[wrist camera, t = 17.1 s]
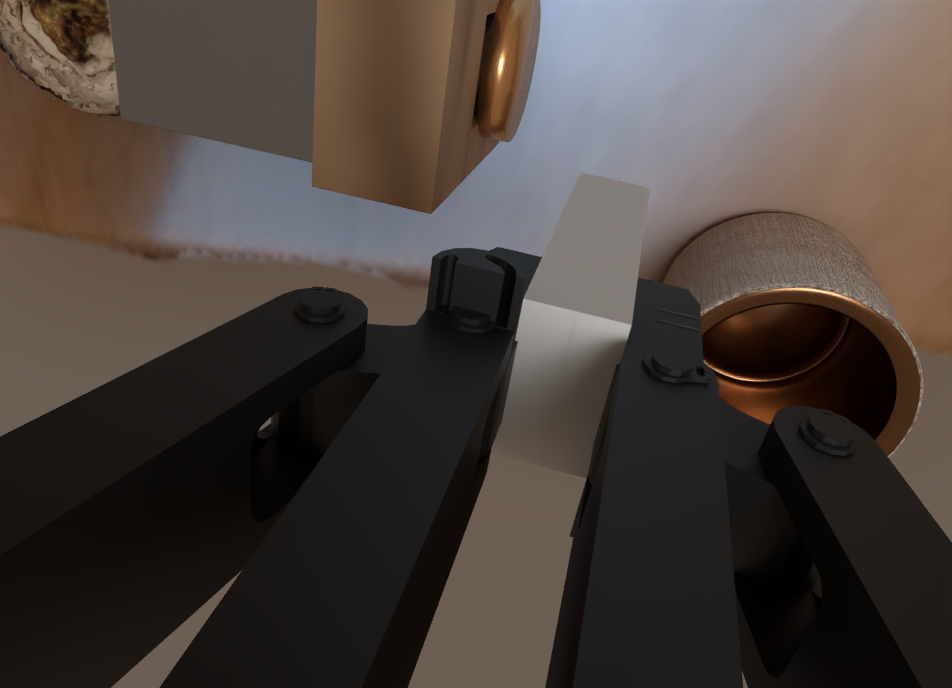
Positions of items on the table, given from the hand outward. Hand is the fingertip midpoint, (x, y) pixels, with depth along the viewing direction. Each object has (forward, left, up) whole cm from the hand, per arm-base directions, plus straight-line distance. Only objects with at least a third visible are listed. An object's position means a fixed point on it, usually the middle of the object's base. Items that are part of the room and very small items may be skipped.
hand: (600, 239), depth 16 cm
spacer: (0, -9, -22) cm, 24 cm away
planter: (+10, +9, -23) cm, 26 cm away
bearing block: (0, -18, -22) cm, 28 cm away
